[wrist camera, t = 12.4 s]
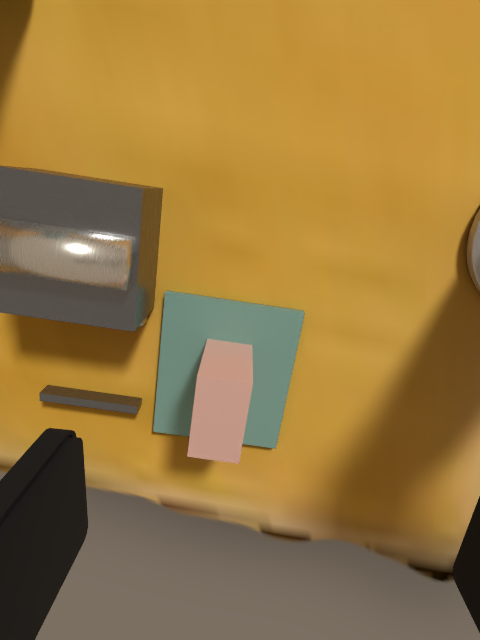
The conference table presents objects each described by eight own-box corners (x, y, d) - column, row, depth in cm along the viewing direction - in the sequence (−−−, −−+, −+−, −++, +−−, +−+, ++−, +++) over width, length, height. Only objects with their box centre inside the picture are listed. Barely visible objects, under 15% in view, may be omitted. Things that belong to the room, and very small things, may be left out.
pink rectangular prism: (252, 345, 34) (253, 383, 27) (241, 412, 36) (239, 463, 29) (206, 338, 34) (196, 375, 27) (198, 406, 36) (186, 456, 29)
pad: (303, 310, 33) (304, 313, 33) (275, 443, 38) (275, 448, 37) (166, 290, 33) (164, 293, 32) (154, 426, 38) (153, 431, 37)
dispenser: (162, 188, 30) (133, 188, 22) (146, 406, 37) (119, 464, 29) (36, 168, 30) (-38, 162, 22) (42, 391, 37) (-13, 446, 29)
